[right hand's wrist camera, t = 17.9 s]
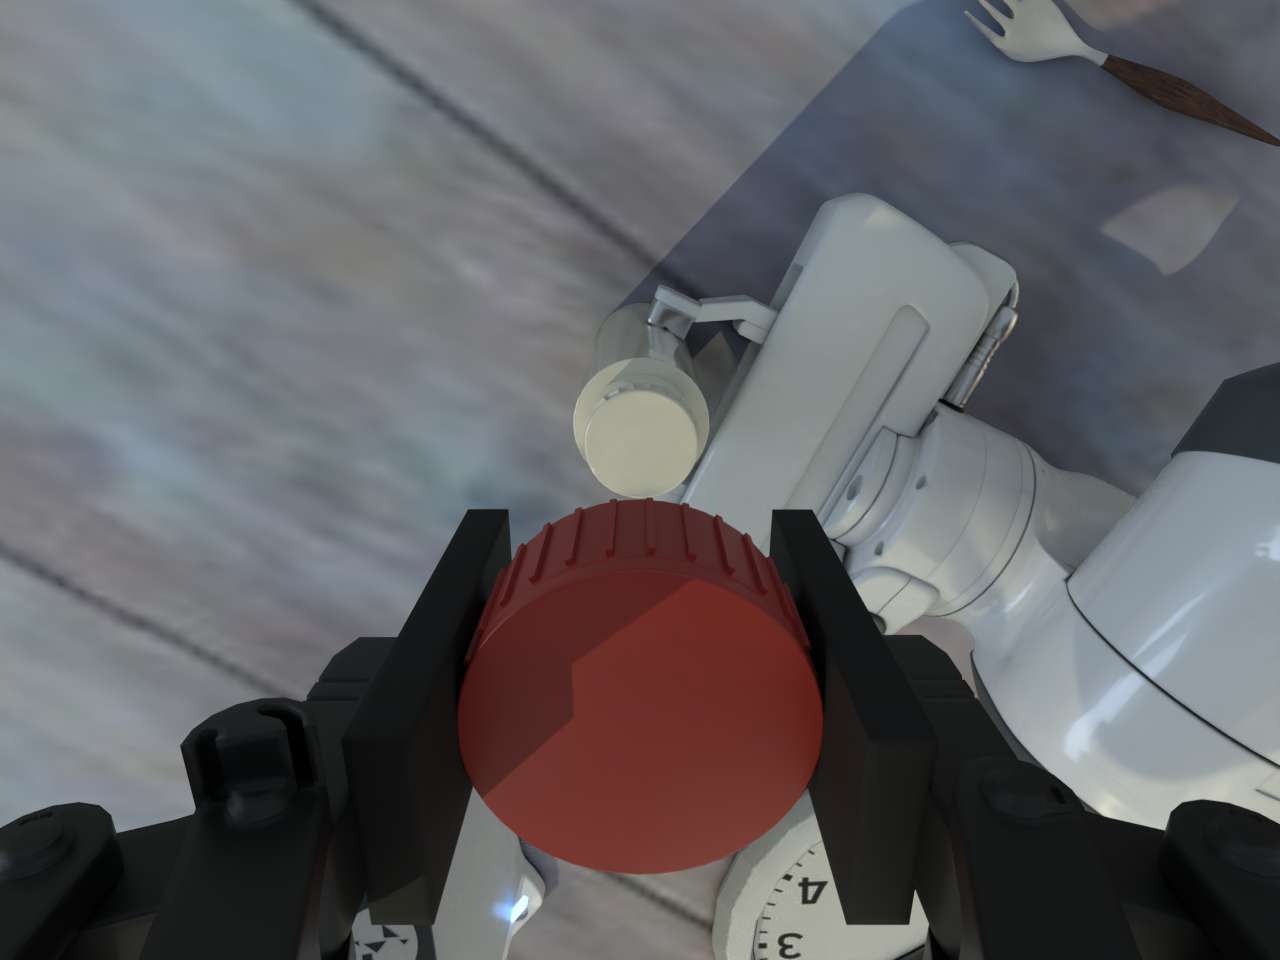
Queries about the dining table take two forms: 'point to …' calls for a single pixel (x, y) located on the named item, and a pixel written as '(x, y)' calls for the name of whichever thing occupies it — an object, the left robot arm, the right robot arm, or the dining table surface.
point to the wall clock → (799, 904)
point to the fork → (1104, 63)
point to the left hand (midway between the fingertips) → (621, 366)
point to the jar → (640, 407)
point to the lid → (640, 691)
